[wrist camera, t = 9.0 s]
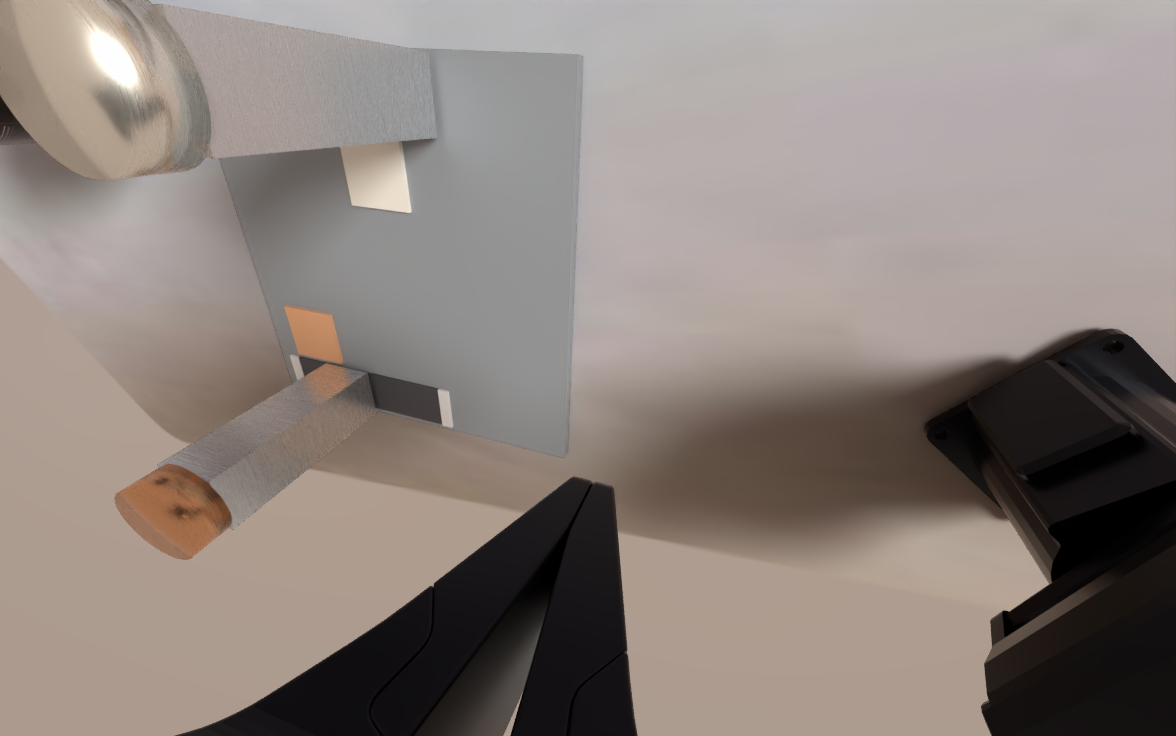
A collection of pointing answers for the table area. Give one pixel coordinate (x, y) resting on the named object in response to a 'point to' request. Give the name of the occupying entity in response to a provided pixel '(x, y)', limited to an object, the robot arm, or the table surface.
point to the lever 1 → (197, 86)
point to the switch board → (436, 251)
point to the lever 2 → (245, 461)
